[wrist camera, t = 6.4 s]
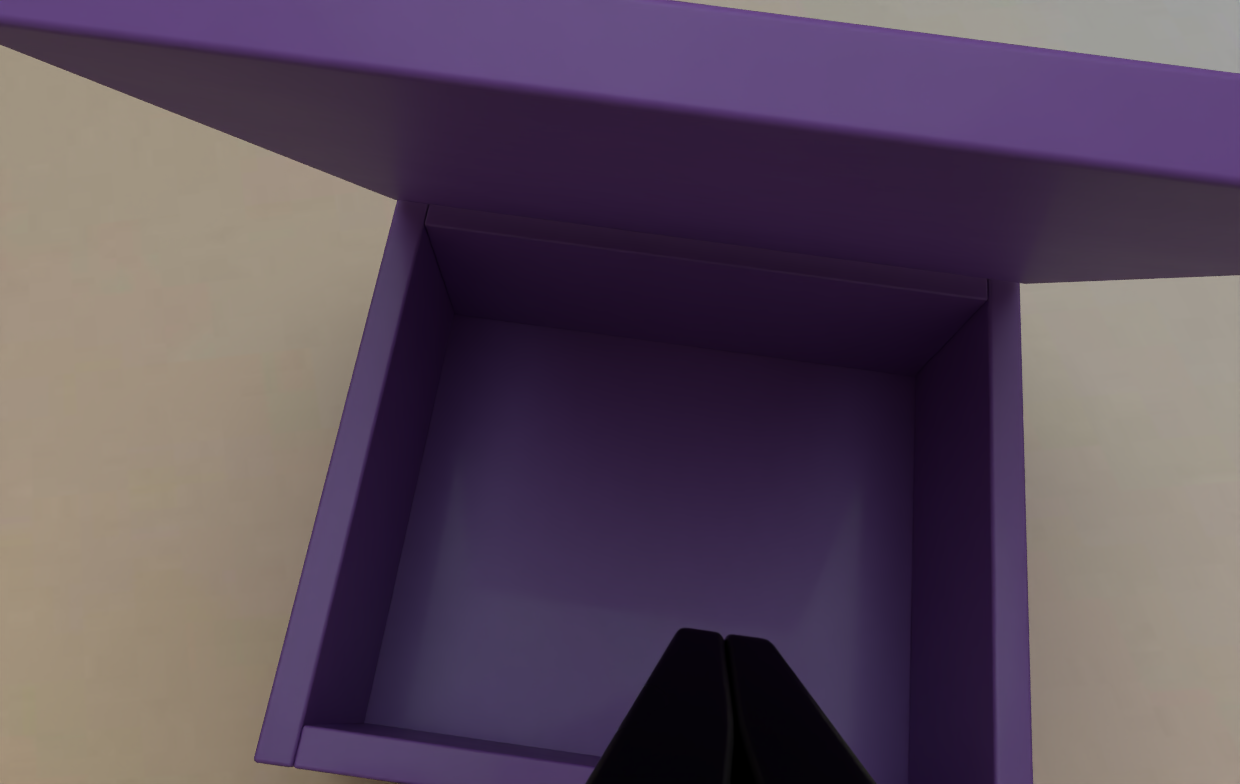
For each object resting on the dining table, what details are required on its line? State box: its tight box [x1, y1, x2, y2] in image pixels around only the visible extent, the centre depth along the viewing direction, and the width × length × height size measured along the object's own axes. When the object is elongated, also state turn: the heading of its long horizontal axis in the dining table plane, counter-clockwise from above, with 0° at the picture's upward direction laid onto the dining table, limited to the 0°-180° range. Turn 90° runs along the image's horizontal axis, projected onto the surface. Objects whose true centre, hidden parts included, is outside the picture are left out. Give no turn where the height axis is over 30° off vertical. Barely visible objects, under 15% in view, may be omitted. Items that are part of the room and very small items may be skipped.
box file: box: [254, 200, 1033, 784], centre depth 19 cm, size 11×13×5 cm
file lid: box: [0, 0, 1240, 284], centre depth 12 cm, size 12×13×1 cm
